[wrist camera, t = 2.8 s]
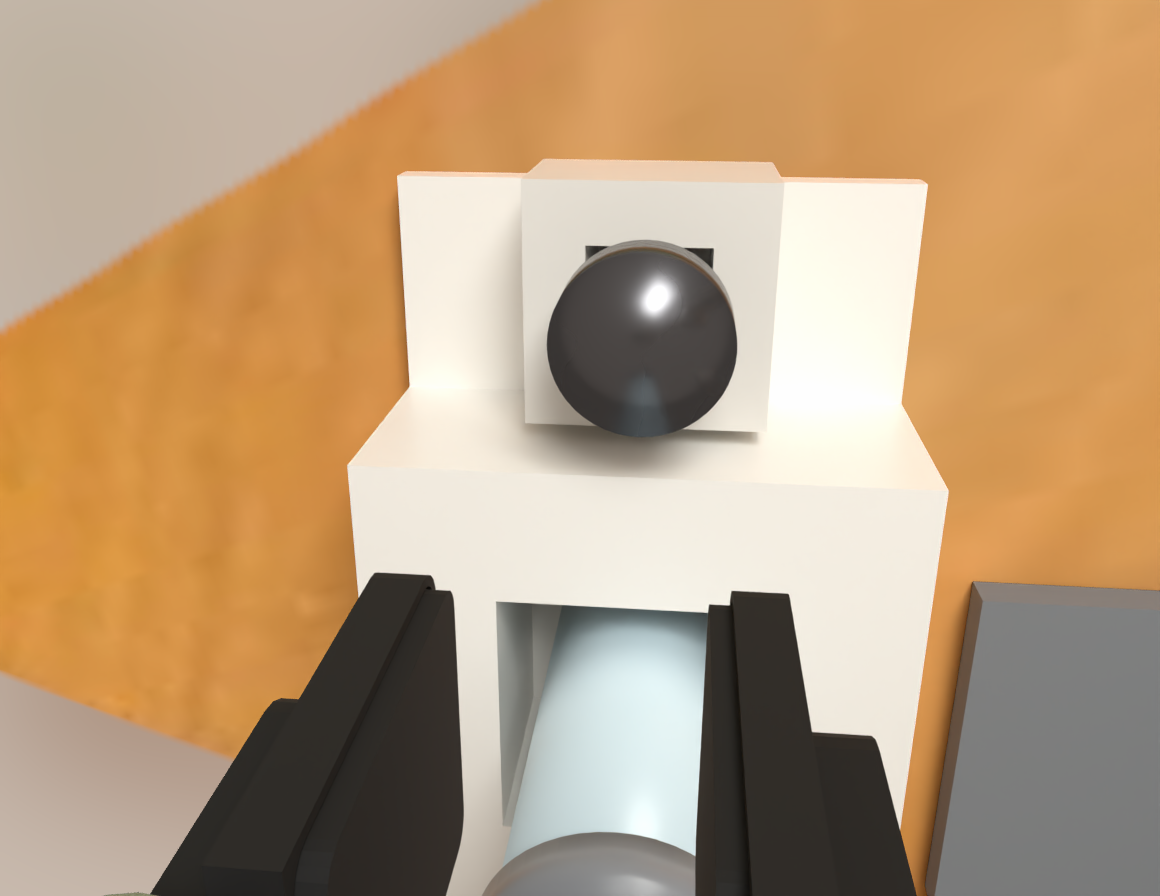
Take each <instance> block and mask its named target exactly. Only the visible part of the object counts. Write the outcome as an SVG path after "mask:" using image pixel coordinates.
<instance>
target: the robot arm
mask: <svg viewBox="0 0 1160 896" xmlns="http://www.w3.org/2000/svg"><path fill="white" fill-rule="evenodd" d="M463 821H464V800H463V779H462V758H461V737H460V716H459V694H458V673H457V652H456V631H455V610H454V598H453V594H452V592H451V591H447V590H436V588H435V583H434V579H433V578H432V576H431V575H418V574H399V573H379V572H378V573H374V574H373V575H372V576H371V578H370V579H369V581H368V583H367V585H366V586H365V588H364V590H363V591H362V593H361V595H360V596H359V598H358V600H357V602H356V603H355V605H354V607H353V608H352V610H351V612H350V613H349V615H348V617H347V619H346V620H345V622H344V624H343V625H342V627H341V629H340V630H339V632H338V634H337V636H336V637H335V639H334V641H333V642H332V644H331V646H330V647H329V649H328V651H327V653H326V654H325V656H324V658H323V659H322V661H321V663H320V664H319V666H318V668H317V670H316V671H315V673H314V675H313V676H312V678H311V680H310V681H309V683H308V685H307V687H306V688H305V690H304V692H303V693H302V695H301V697H300V698H299V699H284V698H281V699H278V700H276V701H273V702H272V703H271V705H270V706H269V707H268V708H267V709H266V711H265V712H264V714H263V715H262V717H261V718H260V720H259V722H258V723H257V725H256V726H255V728H254V730H253V731H252V733H251V734H250V736H249V737H248V739H247V741H246V742H245V744H244V745H243V747H242V749H241V750H240V752H239V753H238V755H237V757H236V758H235V760H234V761H233V763H232V765H231V766H230V768H229V769H228V771H227V773H226V774H225V776H224V777H223V779H222V780H221V782H220V784H219V785H218V787H217V788H216V790H215V792H214V793H213V795H212V796H211V798H210V800H209V801H208V803H207V804H206V806H205V808H204V809H203V811H202V812H201V814H200V816H199V817H198V819H197V820H196V822H195V823H194V825H193V827H192V828H191V830H190V831H189V833H188V835H187V836H186V838H185V840H184V841H183V843H182V844H181V846H180V847H179V849H178V851H177V852H176V854H175V855H174V857H173V859H172V860H171V862H170V863H169V865H168V867H167V868H166V870H165V871H164V873H163V874H162V876H161V878H160V879H159V881H158V882H157V884H156V886H155V887H154V889H153V890H152V892H151V894H144V893H139V892H137V893H124V894H112V895H104V896H446V894H447V890H448V887H449V883H450V880H451V876H452V873H453V869H454V866H455V862H456V859H457V855H458V852H459V848H460V844H461V838H462V831H463ZM695 896H917V895H916V891H915V887H914V883H913V879H912V876H911V872H910V868H909V864H908V860H907V856H906V852H905V848H904V844H903V840H902V836H901V832H900V828H899V824H898V821H897V817H896V813H895V809H894V805H893V801H892V797H891V793H890V789H889V785H888V781H887V777H886V773H885V769H884V766H883V762H882V758H881V754H880V750H879V747H878V744H877V742H876V739H875V738H873V737H872V736H868V735H852V734H836V733H820V732H812V728H811V722H810V716H809V710H808V704H807V698H806V692H805V686H804V680H803V674H802V668H801V662H800V656H799V650H798V644H797V638H796V632H795V626H794V620H793V613H792V607H791V601H790V597H789V594H786V593H767V592H748V591H731V597H730V605H712V604H709V608H708V622H707V640H706V659H705V677H704V696H703V714H702V733H701V751H700V770H699V788H698V806H697V825H696V854H695Z"/></svg>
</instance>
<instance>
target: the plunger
mask: <svg viewBox="0 0 1160 896" xmlns="http://www.w3.org/2000/svg"><path fill="white" fill-rule="evenodd" d="M547 356H548V362H549V366H550V370H551V373H552V376H553V379H554V381H555V383H556V385H557V387H558V389H559V391H560V392H561V394H562V395H563V397H564V398H565V399H566V401H567V402H568V403H569V404H570V405H571V406H572V408H573V409H574V410H575V411H577V412H578V413H579V414H580V415H581V416H582V417H584V418H585V419H587V420H588V421H590V422H591V423H593V424H594V425H596V426H598V427H600V428H602V429H604V430H607V431H610V432H613V433H616V434H620V435H625V436H632V437H654V436H661V435H666V434H669V433H673V432H676V431H678V430H681V429H683V428H685V427H687V426H689V425H691V424H693V423H694V422H696V421H697V420H699V419H700V418H701V417H703V416H704V415H705V414H707V413H708V412H709V411H710V410H711V409H712V408H713V407H714V406H715V404H716V403H717V402H718V401H719V399H720V398H721V397H722V395H723V394H724V392H725V390H726V388H727V387H728V385H729V382H730V380H731V378H732V375H733V372H734V368H735V364H736V358H737V334H736V326H735V319H734V312H733V307H732V304H731V300H730V297H729V295H728V293H727V290H726V288H725V286H724V285H723V283H722V281H721V280H720V278H719V277H718V276H717V274H716V273H715V272H714V271H713V269H712V268H711V267H710V266H709V265H708V264H706V263H705V262H704V261H703V260H702V259H701V258H699V257H698V256H696V255H695V254H693V253H692V252H690V251H688V250H686V249H684V248H682V247H680V246H677V245H674V244H671V243H667V242H663V241H658V240H632V241H626V242H622V243H618V244H615V245H612V246H610V247H608V248H605V249H603V250H601V251H599V252H598V253H596V254H595V255H593V256H592V257H590V258H589V259H588V260H587V261H585V262H584V263H583V264H582V265H581V266H580V267H579V268H578V269H577V270H576V272H575V273H574V274H573V275H572V277H571V278H570V280H569V281H568V283H567V284H566V286H565V288H564V290H563V292H562V294H561V296H560V298H559V300H558V302H557V304H556V306H555V308H554V310H553V313H552V316H551V319H550V322H549V328H548V333H547Z"/></svg>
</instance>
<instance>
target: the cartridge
mask: <svg viewBox="0 0 1160 896" xmlns="http://www.w3.org/2000/svg"><path fill="white" fill-rule="evenodd" d="M707 622H708V613H703V612H684V611H665V610H647V609H628V608H610V607H591V606H572V605H562V609H561V613H560V618H559V622H558V626H557V631H556V635H555V639H554V644H553V648H552V653H551V657H550V661H549V666H548V670H547V674H546V679H545V683H544V687H543V692H542V696H541V700H540V705H539V709H538V714H537V718H536V722H535V727H534V731H533V735H532V740H531V744H530V748H529V753H528V757H527V762H526V766H525V770H524V775H523V779H522V783H521V788H520V792H519V796H518V801H517V805H516V809H515V814H514V818H513V823H512V827H511V831H510V836H509V840H508V844H507V849H506V853H505V857H504V862H503V866H502V868H501V869H500V871H499V872H498V873H497V874H496V875H495V876H494V877H493V879H492V880H491V881H490V883H489V884H488V886H487V887H486V889H485V891H484V892H483V894H482V896H695V854H696V825H697V806H698V788H699V770H700V751H701V733H702V714H703V696H704V677H705V659H706V640H707Z"/></svg>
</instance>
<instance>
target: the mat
mask: <svg viewBox="0 0 1160 896" xmlns="http://www.w3.org/2000/svg"><path fill="white" fill-rule="evenodd" d="M925 888H926V892H927V895H928V896H1160V591H1153V590H1133V589H1113V588H1093V587H1073V586H1053V585H1032V584H1012V583H992V582H973V585H972V591H971V598H970V604H969V610H968V617H967V623H966V629H965V636H964V642H963V648H962V654H961V661H960V667H959V673H958V680H957V686H956V692H955V699H954V705H953V711H952V718H951V724H950V730H949V737H948V743H947V749H946V755H945V762H944V768H943V774H942V781H941V787H940V793H939V800H938V806H937V812H936V819H935V825H934V831H933V838H932V844H931V850H930V856H929V863H928V869H927V875H926V882H925Z"/></svg>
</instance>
